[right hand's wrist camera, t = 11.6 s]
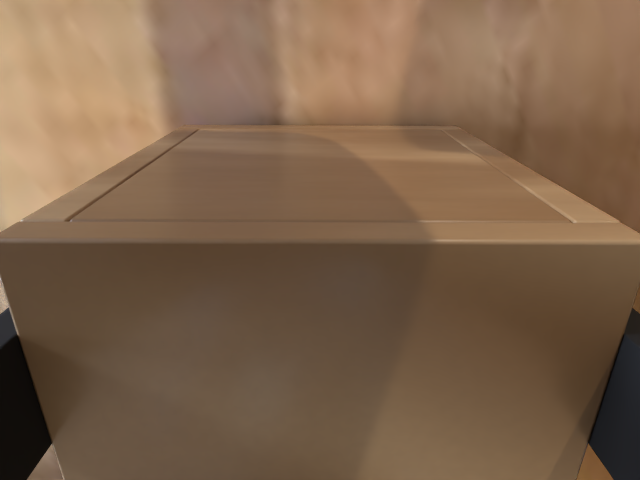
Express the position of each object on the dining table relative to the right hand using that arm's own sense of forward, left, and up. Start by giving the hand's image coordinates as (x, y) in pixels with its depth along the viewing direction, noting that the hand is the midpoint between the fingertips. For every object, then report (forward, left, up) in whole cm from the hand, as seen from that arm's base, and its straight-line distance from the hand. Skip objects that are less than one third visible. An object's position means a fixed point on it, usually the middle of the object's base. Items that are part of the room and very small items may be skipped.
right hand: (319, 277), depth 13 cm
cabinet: (+2, -6, -7) cm, 9 cm away
